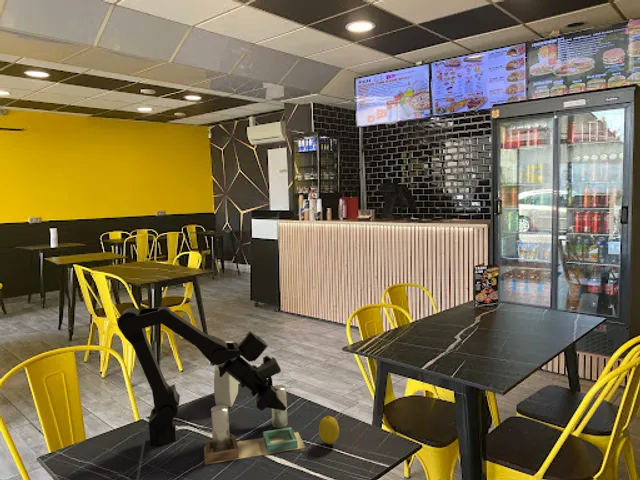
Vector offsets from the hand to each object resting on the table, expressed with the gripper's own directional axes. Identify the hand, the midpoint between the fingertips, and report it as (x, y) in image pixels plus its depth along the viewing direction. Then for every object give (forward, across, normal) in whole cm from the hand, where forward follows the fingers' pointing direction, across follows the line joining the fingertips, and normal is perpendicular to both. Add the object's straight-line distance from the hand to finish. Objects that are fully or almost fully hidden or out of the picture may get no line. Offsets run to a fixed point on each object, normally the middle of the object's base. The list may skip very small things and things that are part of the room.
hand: (283, 405), depth 146 cm
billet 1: (-9, -12, +17) cm, 23 cm away
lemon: (+12, -14, -2) cm, 18 cm away
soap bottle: (-6, +24, +16) cm, 30 cm away
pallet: (-2, -11, +12) cm, 16 cm away
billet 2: (+4, 0, +6) cm, 7 cm away
